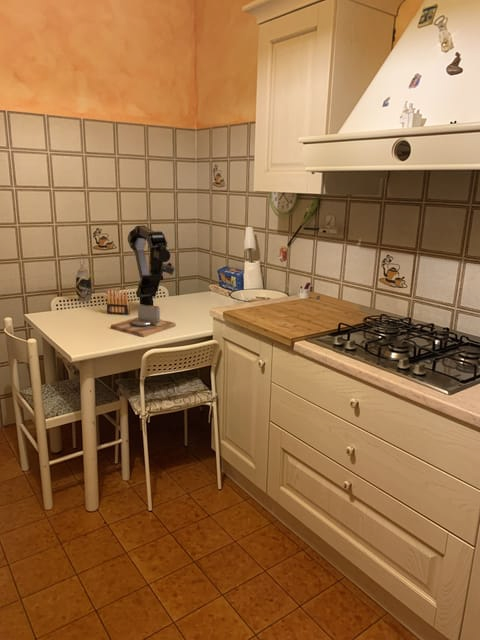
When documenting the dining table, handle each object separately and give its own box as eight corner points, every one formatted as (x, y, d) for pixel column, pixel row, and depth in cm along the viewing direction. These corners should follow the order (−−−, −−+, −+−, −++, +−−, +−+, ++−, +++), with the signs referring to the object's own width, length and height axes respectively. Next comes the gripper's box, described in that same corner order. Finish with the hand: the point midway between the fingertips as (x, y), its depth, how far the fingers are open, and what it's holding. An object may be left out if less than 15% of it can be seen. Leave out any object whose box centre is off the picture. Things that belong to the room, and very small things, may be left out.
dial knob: (127, 324, 216) (126, 305, 213) (140, 318, 224) (140, 301, 222) (151, 328, 210) (151, 309, 208) (165, 322, 219) (164, 304, 217)
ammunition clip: (129, 314, 239) (128, 290, 235) (128, 315, 237) (127, 290, 233) (108, 313, 240) (107, 288, 236) (106, 314, 238) (105, 289, 235)
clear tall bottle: (89, 302, 259) (86, 254, 252) (74, 301, 259) (70, 254, 252) (94, 298, 268) (91, 252, 261) (79, 297, 268) (75, 251, 261)
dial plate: (110, 328, 216) (110, 324, 215) (143, 318, 232) (143, 315, 231) (143, 337, 205) (143, 333, 205) (175, 326, 221) (175, 322, 221)
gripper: (174, 262, 223) (174, 295, 227) (172, 255, 240) (173, 286, 245) (149, 262, 221) (149, 296, 225) (149, 255, 238) (150, 286, 243)
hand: (156, 291), depth 235 cm, fingers closed
